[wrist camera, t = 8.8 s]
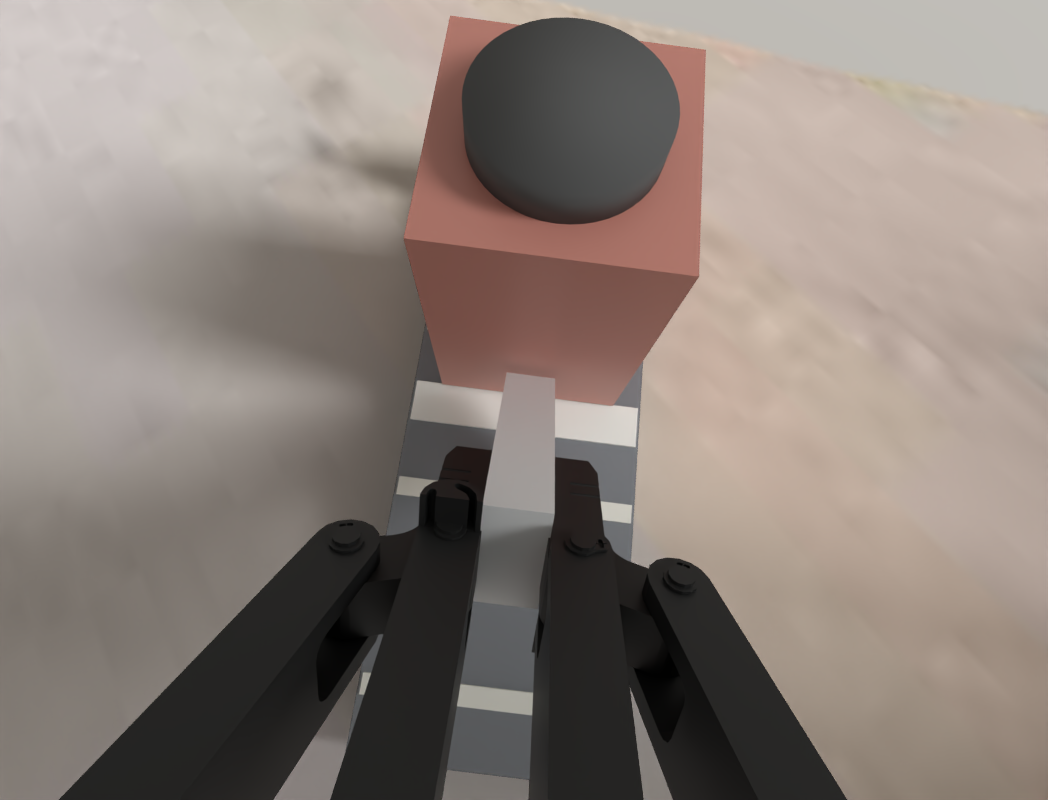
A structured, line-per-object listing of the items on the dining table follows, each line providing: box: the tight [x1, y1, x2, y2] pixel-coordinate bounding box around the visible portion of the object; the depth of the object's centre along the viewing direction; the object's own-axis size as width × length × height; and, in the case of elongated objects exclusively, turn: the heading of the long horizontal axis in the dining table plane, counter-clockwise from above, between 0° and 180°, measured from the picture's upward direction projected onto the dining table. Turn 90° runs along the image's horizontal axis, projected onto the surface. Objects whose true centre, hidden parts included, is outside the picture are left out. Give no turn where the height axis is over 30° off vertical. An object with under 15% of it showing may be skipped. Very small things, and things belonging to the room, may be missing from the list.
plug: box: [404, 16, 706, 406], centre depth 16 cm, size 6×6×10 cm
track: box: [345, 324, 643, 780], centre depth 20 cm, size 22×8×5 cm, turn 173°
